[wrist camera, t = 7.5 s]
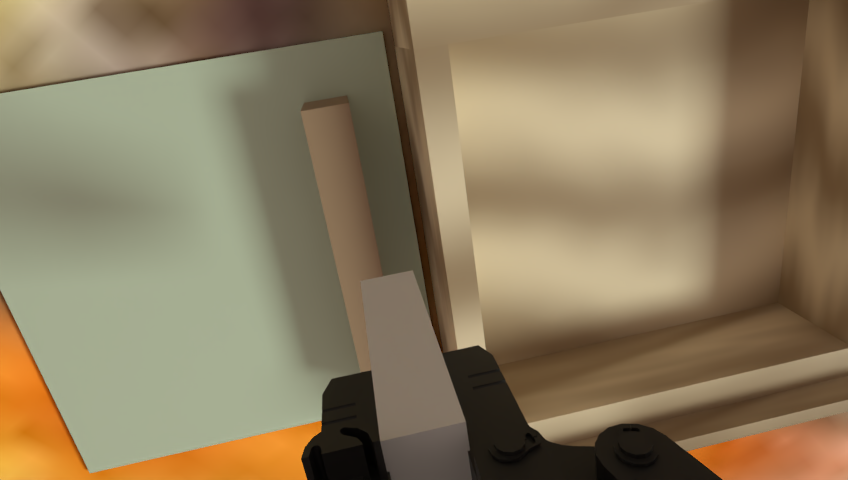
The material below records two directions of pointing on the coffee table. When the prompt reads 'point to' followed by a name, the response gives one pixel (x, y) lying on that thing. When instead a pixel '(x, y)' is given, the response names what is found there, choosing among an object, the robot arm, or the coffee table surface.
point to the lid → (202, 240)
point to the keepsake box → (637, 205)
